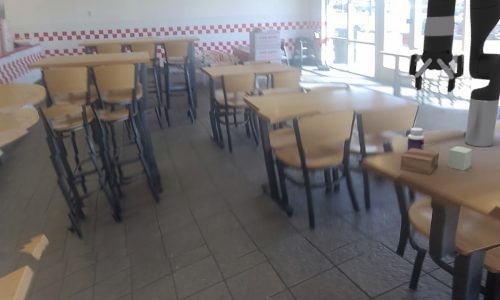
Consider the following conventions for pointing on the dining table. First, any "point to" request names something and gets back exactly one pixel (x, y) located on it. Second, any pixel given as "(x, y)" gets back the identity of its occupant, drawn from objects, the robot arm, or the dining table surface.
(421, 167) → the walnut block
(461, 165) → the sage cube
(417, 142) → the pill bottle
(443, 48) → the robot arm
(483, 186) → the dining table surface
